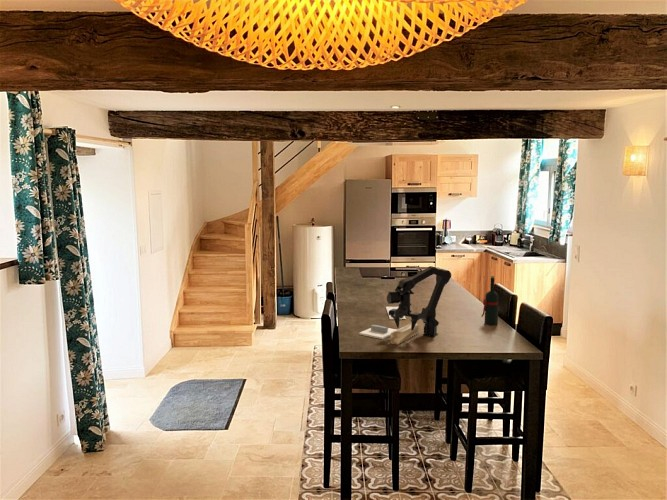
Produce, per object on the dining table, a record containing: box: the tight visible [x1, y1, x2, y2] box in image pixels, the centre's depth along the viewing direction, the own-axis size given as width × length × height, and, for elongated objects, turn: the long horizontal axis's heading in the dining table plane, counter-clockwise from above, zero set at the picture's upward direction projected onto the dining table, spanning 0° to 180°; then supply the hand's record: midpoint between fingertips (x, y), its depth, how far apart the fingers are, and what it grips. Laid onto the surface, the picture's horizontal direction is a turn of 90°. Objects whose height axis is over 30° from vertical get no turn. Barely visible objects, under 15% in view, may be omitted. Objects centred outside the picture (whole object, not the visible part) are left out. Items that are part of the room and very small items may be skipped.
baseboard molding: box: [385, 306, 407, 321], centre depth 343 cm, size 31×3×12 cm
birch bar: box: [390, 322, 419, 346], centre depth 289 cm, size 4×24×6 cm, turn 144°
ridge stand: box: [358, 324, 397, 340], centre depth 300 cm, size 16×18×4 cm
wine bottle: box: [481, 275, 499, 326], centre depth 315 cm, size 8×10×30 cm
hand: (405, 329), depth 289 cm, fingers open, 9 cm apart
